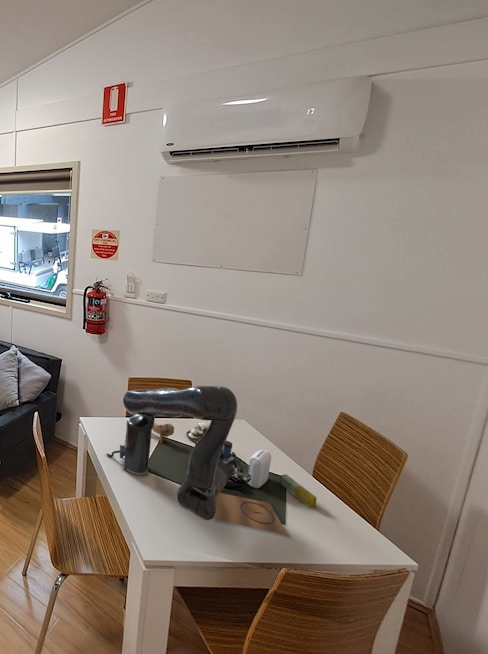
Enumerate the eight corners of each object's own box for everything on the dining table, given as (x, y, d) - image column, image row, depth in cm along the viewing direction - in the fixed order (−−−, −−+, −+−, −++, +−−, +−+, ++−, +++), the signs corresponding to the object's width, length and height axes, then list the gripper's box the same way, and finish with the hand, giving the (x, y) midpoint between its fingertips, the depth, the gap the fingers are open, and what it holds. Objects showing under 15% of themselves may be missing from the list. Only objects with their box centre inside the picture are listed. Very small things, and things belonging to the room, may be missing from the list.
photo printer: (256, 473, 147) (261, 445, 144) (269, 479, 143) (274, 450, 141) (244, 483, 141) (249, 454, 139) (257, 490, 138) (262, 460, 135)
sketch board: (216, 520, 124) (216, 519, 124) (204, 487, 139) (204, 486, 139) (287, 536, 118) (288, 534, 118) (267, 499, 133) (267, 498, 133)
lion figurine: (174, 442, 166) (176, 423, 165) (170, 447, 163) (172, 428, 161) (142, 428, 177) (143, 410, 175) (137, 432, 173) (138, 415, 172)
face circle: (246, 519, 124) (246, 519, 124) (236, 499, 133) (236, 499, 133) (279, 527, 121) (279, 526, 121) (267, 505, 130) (267, 505, 130)
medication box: (279, 484, 141) (279, 474, 140) (286, 483, 141) (286, 473, 140) (309, 508, 129) (310, 498, 128) (316, 507, 129) (317, 497, 129)
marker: (220, 475, 131) (224, 444, 129) (218, 470, 133) (222, 440, 131) (229, 476, 130) (233, 445, 128) (227, 472, 132) (231, 441, 131)
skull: (192, 444, 163) (188, 420, 168) (185, 448, 171) (182, 424, 177) (222, 447, 160) (217, 422, 166) (214, 450, 169) (209, 427, 174)
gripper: (240, 476, 115) (253, 452, 127) (191, 455, 125) (208, 434, 137) (237, 497, 117) (250, 471, 128) (189, 475, 126) (205, 453, 138)
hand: (228, 452), depth 133 cm, fingers closed on marker, 2 cm apart
